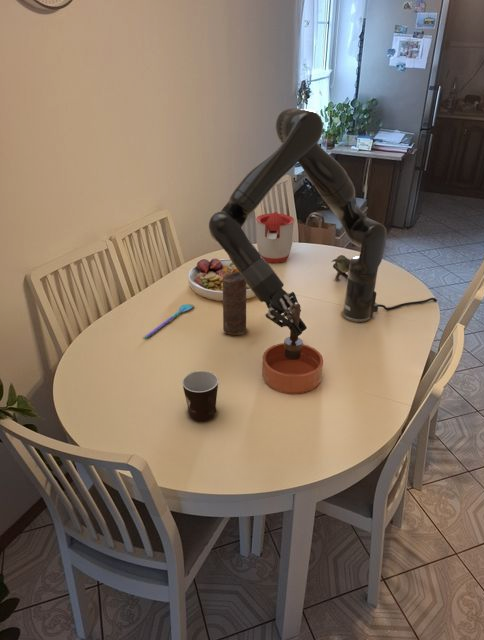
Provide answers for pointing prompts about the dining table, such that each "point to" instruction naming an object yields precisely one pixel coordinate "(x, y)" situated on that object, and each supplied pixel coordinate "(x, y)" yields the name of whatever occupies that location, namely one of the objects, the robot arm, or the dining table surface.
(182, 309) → the spoon
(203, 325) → the dining table surface
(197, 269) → the bowl
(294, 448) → the dining table surface
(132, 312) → the dining table surface
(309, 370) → the basin
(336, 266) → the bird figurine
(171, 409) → the dining table surface
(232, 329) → the candle
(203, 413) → the coffee mug
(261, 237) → the citrus juicer
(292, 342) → the tamper
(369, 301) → the robot arm
